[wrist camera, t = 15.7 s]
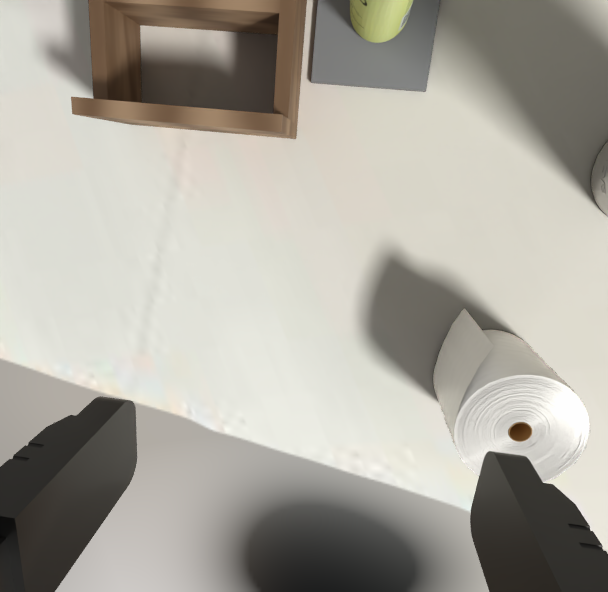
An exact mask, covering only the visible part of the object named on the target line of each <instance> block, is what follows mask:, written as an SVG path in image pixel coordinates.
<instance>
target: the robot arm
mask: <svg viewBox="0 0 608 592" xmlns="http://www.w3.org/2000/svg"><path fill="white" fill-rule="evenodd" d="M591 184H592V192H593V195H594V199H595V201H596V203H597V204H598V206H599V208H600V209H601V210H602V211H603V212H604V213H605V214H606V215H607V216H608V142H607V143H606V144H605V145H604V146H603V148H602V150H601V151H600V153H599V155H598V156H597V159H596V161H595V164H594V167H593V171H592V177H591ZM136 462H137V442H136V411H135V405H134V403H133V402H132V401H130V400H123V399H115V398H107V397H97V398H95V399H94V400H93V401H92V402H91V403H90V404H89V405H88V406H86V407H85V408H84V409H83V410H82V411H81V412H80V413H79V414H78V415H77V416H73V415H70V416H68V417H66V418H64V419H62V420H60V421H58V422H56V423H54V424H52V425H50V426H48V427H46V428H45V429H44V430H43V431H41V432H40V433H39V434H38V435H37V436H36V437H34V438H33V439H32V440H31V441H30V442H29V444H28V446H24V447H23V448H22V449H21V450H19V451H18V452H17V453H16V454H15V455H14V456H13V459H9V460H8V461H7V462H5V463H4V464H3V465H2V466H1V467H0V592H55V590H56V589H57V588H58V586H59V585H60V583H61V581H62V580H63V579H64V578H65V576H66V574H67V573H68V572H69V570H70V569H71V567H72V566H73V565H74V563H75V562H76V560H77V559H78V557H79V556H80V554H81V553H82V552H83V550H84V549H85V547H86V546H87V544H88V543H89V541H90V540H91V539H92V537H93V536H94V534H95V533H96V531H97V530H98V529H99V527H100V526H101V524H102V523H103V521H104V520H105V519H106V517H107V516H108V514H109V513H110V511H111V510H112V508H113V507H114V506H115V504H116V503H117V501H118V500H119V498H120V497H121V495H122V494H123V492H124V491H125V490H126V488H127V487H128V485H129V484H130V482H131V480H132V477H133V475H134V471H135V468H136ZM470 520H471V521H470V523H471V533H472V538H473V542H474V545H475V548H476V551H477V554H478V557H479V560H480V563H481V567H482V569H483V573H484V576H485V579H486V582H487V585H488V588H489V592H608V554H607V552H606V551H603V549H602V544H601V543H600V541H599V540H598V538H597V537H596V535H595V534H594V532H593V531H590V526H589V525H588V523H587V522H586V520H585V519H584V517H583V515H582V514H581V512H580V511H579V509H578V508H577V506H576V505H575V504H574V503H573V502H572V501H571V500H570V499H569V498H567V497H566V496H565V495H564V494H563V493H562V492H561V491H560V490H559V489H557V488H556V487H555V486H554V485H553V484H546V483H543V482H542V480H541V478H540V477H539V475H538V473H537V472H536V470H535V468H534V467H533V465H532V463H531V462H530V460H529V459H528V458H527V457H526V456H522V455H515V454H508V453H500V452H493V451H488V452H487V453H486V455H485V457H484V460H483V464H482V467H481V471H480V475H479V479H478V483H477V487H476V491H475V495H474V499H473V503H472V508H471V518H470Z"/></svg>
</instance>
